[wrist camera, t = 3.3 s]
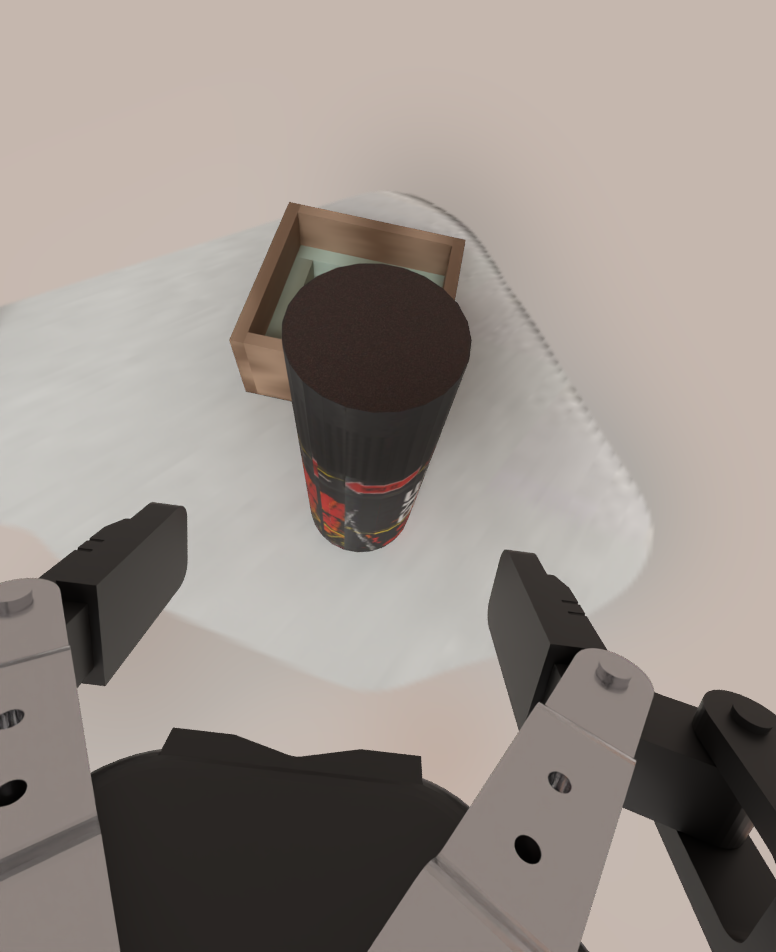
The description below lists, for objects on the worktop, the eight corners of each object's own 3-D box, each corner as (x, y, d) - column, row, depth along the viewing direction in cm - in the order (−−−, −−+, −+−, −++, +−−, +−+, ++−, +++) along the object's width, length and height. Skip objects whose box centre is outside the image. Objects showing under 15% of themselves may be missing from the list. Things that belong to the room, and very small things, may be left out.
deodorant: (330, 447, 30) (321, 242, 16) (420, 476, 29) (488, 293, 16) (295, 533, 27) (248, 376, 14) (393, 565, 27) (445, 438, 13)
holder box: (245, 391, 31) (229, 340, 26) (295, 263, 36) (289, 202, 31) (425, 430, 31) (439, 385, 26) (449, 296, 36) (465, 240, 31)
